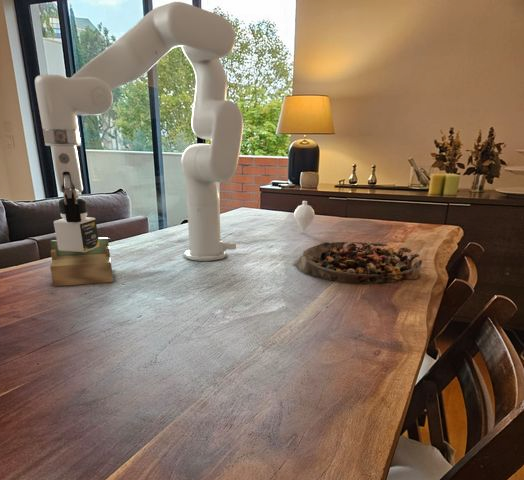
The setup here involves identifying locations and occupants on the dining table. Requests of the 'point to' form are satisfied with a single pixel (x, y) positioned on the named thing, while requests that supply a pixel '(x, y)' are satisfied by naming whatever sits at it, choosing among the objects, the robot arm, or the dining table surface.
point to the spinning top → (304, 215)
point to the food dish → (358, 263)
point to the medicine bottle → (76, 230)
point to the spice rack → (81, 265)
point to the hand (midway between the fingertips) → (74, 218)
